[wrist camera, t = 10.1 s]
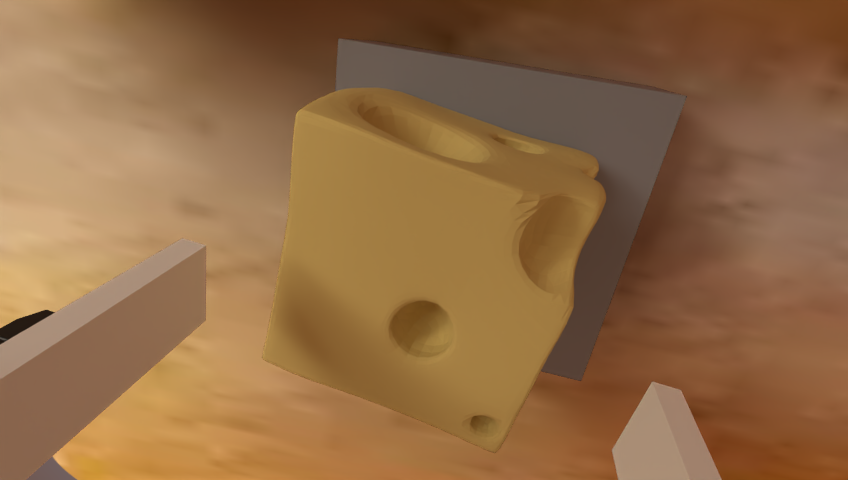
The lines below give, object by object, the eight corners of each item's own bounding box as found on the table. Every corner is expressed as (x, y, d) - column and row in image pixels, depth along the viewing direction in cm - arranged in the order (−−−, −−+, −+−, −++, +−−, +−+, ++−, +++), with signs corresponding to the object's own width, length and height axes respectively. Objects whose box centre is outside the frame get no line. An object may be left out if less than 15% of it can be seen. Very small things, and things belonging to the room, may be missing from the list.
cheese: (593, 149, 21) (643, 222, 12) (507, 327, 26) (497, 476, 17) (386, 76, 22) (288, 94, 13) (339, 262, 26) (242, 372, 17)
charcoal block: (375, 40, 27) (338, 38, 22) (651, 86, 25) (686, 96, 20) (354, 273, 34) (321, 316, 28) (571, 324, 32) (581, 381, 26)
